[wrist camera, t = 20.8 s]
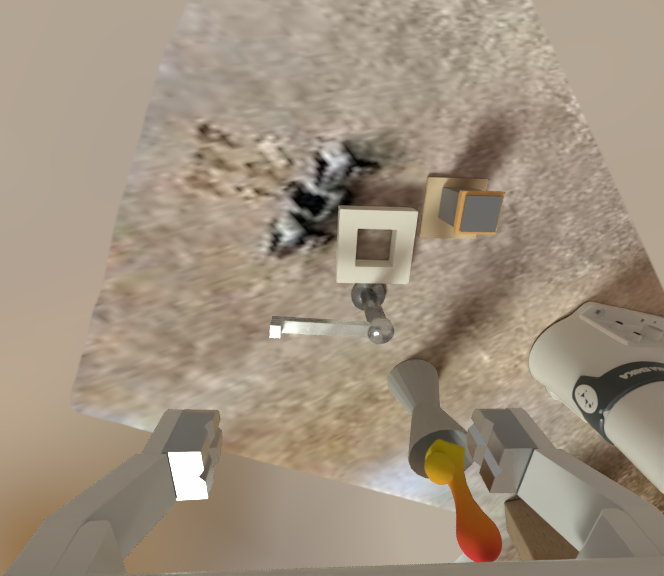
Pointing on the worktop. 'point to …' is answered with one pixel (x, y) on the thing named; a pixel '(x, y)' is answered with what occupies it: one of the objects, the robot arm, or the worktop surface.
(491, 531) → the lava lamp
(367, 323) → the grey metal bar
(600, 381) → the robot arm
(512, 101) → the worktop surface
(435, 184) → the coaster
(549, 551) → the wooden block
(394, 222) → the socket
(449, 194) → the plug
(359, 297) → the post
